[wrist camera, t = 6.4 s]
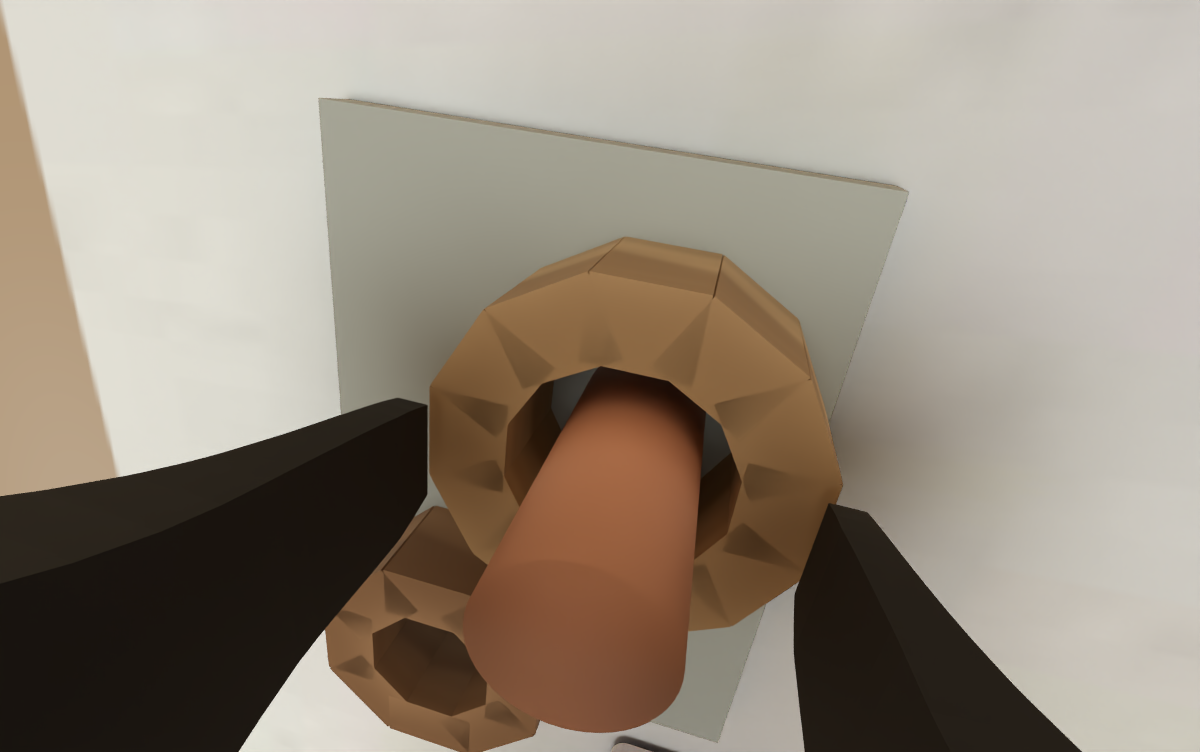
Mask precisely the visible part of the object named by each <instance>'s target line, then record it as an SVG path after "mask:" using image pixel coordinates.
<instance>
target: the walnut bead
mask: <svg viewBox="0 0 1200 752" xmlns="http://www.w3.org/2000/svg"><path fill="white" fill-rule="evenodd" d="M473 553H474V552H472V551H471V549H470V548H469V546H468V544H467V542H466V540H465V539H464V537H463V535H462V533H461V531H460V529H459V528H458V526H457V524H456V522H455V520H454V518H453V517H452V515H451V513H450V511H449V509H447V508H443V507H439V506H435V507H434V506H432V507H431V508H429V509H427V510H425V511H424V512H422V513H420V514H419V515H417V516H415V517H414V518H413V520H412V521H411V523H410V524H409V526H408V527H407V529H406V530H405V532H404V533H403V535H402V537H401V538H400V539H399V541H398V542H397V543H396V544H395V546H394V547H393V548H392V549H391V551H390V552H389V553H388V554H387V556H386V557H385V558H384V559H383V560H382V562H381V563H380V564H379V565H378V566H377V568H376V569H375V570H374V571H373V572H372V574H371V575H370V576H369V577H368V578H367V580H366V581H365V582H364V583H363V584H362V586H361V587H360V588H359V589H358V590H357V592H356V593H355V594H354V595H353V596H352V597H351V599H350V600H349V601H348V602H347V603H346V605H345V606H344V607H343V608H342V609H341V611H340V612H339V613H338V614H337V615H336V616H335V618H334V619H333V620H332V621H331V622H330V624H329V625H328V626H327V627H326V628H325V632H326V642H327V651H328V661H329V667H331V668H330V669H331V670H332V671H333V672H334V673H335V674H336V675H337V676H338V677H339V678H340V679H341V680H342V681H343V682H344V683H345V684H346V685H347V686H348V687H349V688H350V689H351V690H352V691H353V692H354V693H355V694H356V695H357V696H358V697H359V698H360V699H361V700H362V701H363V702H364V703H365V704H366V705H367V706H368V707H369V708H370V709H371V710H372V711H373V712H374V713H375V714H376V715H377V716H378V717H379V718H380V719H381V720H382V721H383V722H384V723H385V724H386V725H387V726H390V728H392V729H394V730H397V731H400V732H403V733H406V734H409V735H412V736H415V737H418V738H421V739H424V740H426V741H429V742H432V743H435V744H438V745H441V746H444V747H447V748H450V749H453V750H456V751H459V752H483V751H486V750H489V749H492V748H496V747H499V746H502V745H506V744H509V743H512V742H515V741H519V740H522V739H525V738H529V737H532V736H534V734H535V733H536V730H537V728H538V725H539V722H540V720H539V719H536V718H534V717H532V716H530V715H528V714H526V713H524V712H522V711H521V710H519V709H518V708H516V707H515V706H513V705H511V704H510V703H509V702H507V701H506V700H505V699H504V698H502V697H501V696H500V695H499V694H498V693H497V692H495V691H494V690H493V689H492V688H491V687H490V686H489V685H488V683H487V682H486V681H485V680H484V679H483V678H482V676H481V675H480V673H479V672H478V670H477V669H476V668H475V666H474V664H473V662H472V660H471V658H470V656H469V654H468V651H467V648H466V646H465V641H464V636H463V616H464V611H465V608H466V605H467V602H468V600H469V598H470V597H471V595H472V593H473V591H474V589H475V587H476V586H477V584H478V582H479V580H480V578H481V576H482V575H483V573H484V571H485V569H486V567H487V566H488V565H487V564H486V563H485V562H483V561H482V560H481V559H479V558H478V557H477V556H476V555H474V554H473Z"/></svg>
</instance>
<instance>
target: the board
mask: <svg viewBox="0 0 1200 752" xmlns="http://www.w3.org/2000/svg"><path fill="white" fill-rule="evenodd" d="M318 99H319V113H320V127H321V141H322V155H323V169H324V182H325V196H326V210H327V224H328V238H329V252H330V265H331V279H332V293H333V307H334V321H335V335H336V348H337V362H338V376H339V390H340V404H341V415H342V414H345V413H348V412H351V411H354V410H357V409H360V408H363V407H366V406H369V405H372V404H375V403H379V402H382V401H386V400H390V399H394V398H402V399H406V400H410V401H414V402H418V403H422V404H426V405H428V495H427V496H426V498H425V500H424V501H423V503H422V505H421V506H420V508H419V510H418V511H417V513H416V515H415V516H417V515H419V514H420V513H422V512H424V511H425V510H427V509H429V508H431V507H432V506H434V507H435V506H439V507H443V508H447V506H446V504H445V502H444V500H443V498H442V497H441V495H440V493H439V491H438V489H437V488H436V486H435V484H434V482H433V480H432V478H431V477H430V474H429V387H430V385H431V383H432V382H433V380H434V379H435V377H436V376H437V375H438V373H439V372H440V370H441V369H442V367H443V366H444V365H445V363H446V362H447V360H448V359H449V357H450V356H451V355H452V353H453V352H454V350H455V349H456V347H457V346H458V345H459V343H460V342H461V340H462V339H463V338H464V336H465V335H466V333H467V332H468V330H469V329H470V328H471V326H472V325H473V323H474V322H475V320H476V319H477V318H478V316H479V315H480V313H481V312H482V310H483V309H485V308H486V307H487V306H489V305H490V304H491V303H493V302H494V301H496V300H497V299H498V298H500V297H501V296H503V295H504V294H505V293H507V292H508V291H510V290H511V289H512V288H514V287H515V286H516V285H518V284H519V283H521V282H522V281H523V280H525V279H526V278H528V277H529V276H530V275H532V274H533V273H534V272H536V271H537V270H539V269H540V268H542V267H545V266H547V265H550V264H553V263H555V262H558V261H561V260H563V259H566V258H569V257H571V256H574V255H577V254H579V253H582V252H585V251H587V250H590V249H593V248H595V247H598V246H601V245H603V244H606V243H609V242H611V241H614V240H617V239H619V238H622V237H632V238H637V239H643V240H648V241H654V242H659V243H664V244H670V245H675V246H681V247H686V248H692V249H697V250H702V251H708V252H713V253H719V254H723V255H722V257H723V256H724V255H725V256H726V257H727V258H728V259H730V260H731V261H732V262H733V263H734V264H735V265H736V266H738V267H739V268H740V269H741V270H742V271H743V272H745V273H746V274H747V275H748V276H749V277H750V278H752V279H753V280H754V281H755V282H756V283H757V284H758V285H760V286H761V287H762V288H763V289H764V290H765V291H767V292H768V293H769V294H770V295H771V296H772V297H774V298H775V299H776V300H777V301H778V302H779V303H780V304H782V305H783V306H784V307H785V308H786V309H787V310H789V311H790V312H791V313H792V314H793V315H794V316H796V317H797V318H798V320H799V321H800V325H801V328H802V332H803V335H804V338H805V342H806V345H807V348H808V352H809V355H810V359H811V362H812V365H813V369H814V372H815V375H816V379H817V382H818V385H819V389H820V392H821V396H822V399H823V402H824V406H825V410H826V414H827V419H828V423H829V421H830V419H831V416H832V413H833V410H834V407H835V404H836V401H837V398H838V396H839V393H840V390H841V387H842V384H843V381H844V378H845V375H846V373H847V370H848V367H849V364H850V361H851V358H852V355H853V352H854V350H855V347H856V344H857V341H858V338H859V335H860V332H861V329H862V327H863V324H864V321H865V318H866V315H867V312H868V309H869V307H870V304H871V301H872V298H873V295H874V292H875V289H876V286H877V284H878V281H879V278H880V275H881V272H882V269H883V266H884V263H885V261H886V258H887V255H888V252H889V249H890V246H891V243H892V240H893V238H894V235H895V232H896V229H897V226H898V223H899V220H900V217H901V215H902V212H903V209H904V206H905V203H906V200H907V197H908V194H909V192H908V191H906V190H904V189H902V188H900V187H898V186H894V185H888V184H881V183H875V182H869V181H862V180H856V179H850V178H843V177H837V176H831V175H824V174H818V173H812V172H805V171H799V170H793V169H786V168H780V167H774V166H768V165H761V164H755V163H749V162H742V161H736V160H730V159H723V158H717V157H711V156H704V155H698V154H692V153H685V152H679V151H673V150H666V149H660V148H654V147H647V146H641V145H635V144H628V143H622V142H616V141H609V140H603V139H597V138H590V137H584V136H578V135H571V134H565V133H559V132H553V131H546V130H540V129H534V128H527V127H521V126H515V125H508V124H502V123H496V122H489V121H483V120H477V119H470V118H464V117H458V116H451V115H445V114H439V113H432V112H426V111H420V110H413V109H407V108H401V107H394V106H388V105H382V104H375V103H369V102H363V101H357V100H350V99H331V98H318ZM597 368H598V367H596V368H593V369H590V370H586V371H583V372H579V373H576V374H573V375H569V376H566V377H562V378H559V379H556V380H554V385H553V395H552V404H551V409H552V411H553V413H554V416H555V418H556V420H557V422H558V424H559V427H560V429H561V431H562V429H563V428H564V426H565V424H566V422H567V420H568V419H569V417H570V415H571V413H572V411H573V410H574V408H575V406H576V404H577V402H578V400H579V399H580V397H581V395H582V393H583V391H584V390H585V388H586V386H587V384H588V382H589V381H590V379H591V377H592V375H593V374H594V372H595V371H596V370H597ZM730 453H731V450H730V447H729V444H728V442H727V439H726V436H725V433H724V431H723V428H722V425H721V424H720V423H719V422H717V421H716V420H715V419H714V418H713V417H711V416H710V415H709V414H708V413H707V412H706V418H705V430H704V443H703V455H702V467H701V478H702V477H704V476H705V475H706V474H707V473H708V472H709V471H710V470H712V469H713V468H714V467H715V466H716V465H717V464H718V463H720V462H721V461H722V460H723V459H724V458H725V457H727V456H728V455H729V454H730ZM447 509H448V508H447ZM415 516H414V517H415ZM765 605H766V604H765ZM765 605H763V606H762V607H760V608H759V609H757V610H756V611H754V612H753V613H752V614H750V615H749V616H747V617H746V618H744V619H743V620H741V621H740V622H738V623H737V624H735V625H734V626H731V627H726V628H717V629H707V630H698V631H689V632H688V640H687V652H686V664H685V674H684V680H683V684H682V686H681V689H680V692H679V694H678V695H677V697H676V699H675V700H674V702H673V703H672V704H671V705H670V706H669V707H668V709H667V710H665V711H664V712H663V713H662V714H661V715H659V716H658V717H656V718H655V719H653V720H651V721H650V722H653V723H656V724H659V725H662V726H666V727H669V728H672V729H675V730H678V731H681V732H685V733H688V734H691V735H694V736H697V737H700V738H704V739H707V740H710V741H713V742H716V743H718V740H719V737H720V735H721V732H722V729H723V726H724V723H725V720H726V717H727V714H728V712H729V709H730V706H731V703H732V700H733V697H734V694H735V691H736V689H737V686H738V683H739V680H740V677H741V674H742V671H743V668H744V666H745V663H746V660H747V657H748V654H749V651H750V648H751V646H752V643H753V640H754V637H755V634H756V631H757V628H758V625H759V623H760V620H761V617H762V614H763V611H764V608H765Z"/></svg>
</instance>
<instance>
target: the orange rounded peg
mask: <svg viewBox="0 0 1200 752" xmlns="http://www.w3.org/2000/svg"><path fill="white" fill-rule="evenodd" d="M705 418H706V412H705V411H704V410H703V409H702V408H701V407H699V406H698V405H697V404H696V403H695V402H693V401H692V400H691V399H690V398H689V397H687V396H686V395H685V394H684V393H683V392H681V391H680V390H679V389H678V388H677V387H675V386H674V385H673V384H672V383H671V382H669V381H667V380H662V379H657V378H653V377H648V376H644V375H639V374H635V373H630V372H626V371H621V370H617V369H612V368H608V367H603V366H600V367H598V368H597V370H596V371H595V372H594V374H593V375H592V377H591V379H590V381H589V382H588V384H587V386H586V388H585V390H584V391H583V393H582V395H581V397H580V399H579V400H578V402H577V404H576V406H575V408H574V410H573V411H572V413H571V415H570V417H569V419H568V420H567V422H566V424H565V426H564V428H563V429H562V431H561V433H560V435H559V437H558V439H557V440H556V442H555V444H554V446H553V448H552V449H551V451H550V453H549V455H548V457H547V459H546V460H545V462H544V464H543V466H542V468H541V469H540V471H539V473H538V475H537V477H536V478H535V480H534V482H533V484H532V486H531V488H530V489H529V491H528V493H527V495H526V497H525V498H524V500H523V502H522V504H521V506H520V508H519V509H518V511H517V513H516V515H515V517H514V518H513V520H512V522H511V524H510V526H509V527H508V529H507V531H506V533H505V535H504V537H503V538H502V540H501V542H500V544H499V546H498V547H497V549H496V551H495V553H494V555H493V556H492V558H491V560H490V562H489V564H488V566H487V567H486V569H485V571H484V573H483V575H482V576H481V578H480V580H479V582H478V584H477V586H476V587H475V589H474V591H473V593H472V595H471V597H470V598H469V600H468V602H467V605H466V608H465V611H464V616H463V636H464V641H465V646H466V648H467V651H468V654H469V656H470V658H471V660H472V662H473V664H474V666H475V668H476V669H477V670H478V672H479V673H480V675H481V676H482V678H483V679H484V680H485V681H486V682H487V683H488V685H489V686H490V687H491V688H492V689H493V690H494V691H495V692H497V693H498V694H499V695H500V696H501V697H502V698H504V699H505V700H506V701H507V702H509V703H510V704H511V705H513V706H515V707H516V708H518V709H519V710H521V711H522V712H524V713H526V714H528V715H530V716H532V717H534V718H536V719H539V720H541V721H543V722H546V723H548V724H552V725H555V726H558V727H561V728H565V729H570V730H575V731H582V732H593V733H606V732H617V731H624V730H628V729H632V728H635V727H638V726H641V725H643V724H646V723H648V722H650V721H651V720H653V719H655V718H656V717H658V716H659V715H661V714H662V713H663V712H664V711H665V710H667V709H668V707H669V706H670V705H671V704H672V703H673V702H674V700H675V699H676V697H677V695H678V694H679V692H680V689H681V686H682V684H683V680H684V674H685V664H686V652H687V640H688V627H689V615H690V603H691V590H692V578H693V566H694V553H695V541H696V529H697V516H698V504H699V492H700V480H701V467H702V455H703V443H704V430H705Z"/></svg>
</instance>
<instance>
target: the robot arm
mask: <svg viewBox="0 0 1200 752" xmlns="http://www.w3.org/2000/svg"><path fill="white" fill-rule="evenodd" d="M427 495H428V405H426V404H422V403H418V402H414V401H410V400H406V399H402V398H394V399H390V400H386V401H382V402H379V403H375V404H372V405H369V406H366V407H363V408H360V409H357V410H354V411H351V412H348V413H345V414H342V415H339V416H336V417H333V418H330V419H327V420H324V421H321V422H318V423H316V424H313V425H310V426H307V427H304V428H301V429H298V430H295V431H292V432H289V433H286V434H283V435H280V436H276V437H273V438H270V439H266V440H263V441H260V442H257V443H253V444H250V445H247V446H243V447H240V448H237V449H234V450H230V451H227V452H224V453H220V454H217V455H213V456H209V457H206V458H202V459H198V460H194V461H190V462H186V463H182V464H178V465H173V466H169V467H164V468H160V469H156V470H151V471H147V472H143V473H138V474H133V475H128V476H123V477H117V478H111V479H106V480H100V481H95V482H89V483H83V484H77V485H72V486H66V487H61V488H55V489H49V490H42V491H36V492H29V493H21V494H14V495H6V496H0V752H239V750H240V749H241V747H242V746H243V744H244V742H245V741H246V739H247V738H248V736H249V735H250V733H251V732H252V730H253V729H254V727H255V726H256V724H257V723H258V721H259V719H260V718H261V716H262V715H263V713H264V712H265V711H266V709H267V708H268V706H269V705H270V703H271V702H272V700H273V699H274V697H275V696H276V695H277V693H278V692H279V690H280V689H281V687H282V686H283V684H284V683H285V681H286V680H287V679H288V677H289V676H290V674H291V673H292V671H293V670H294V668H295V667H296V665H297V664H298V663H299V661H300V660H301V659H302V657H303V656H304V655H305V653H306V652H307V651H308V650H309V648H310V647H311V646H312V644H313V643H314V642H315V641H316V639H317V638H318V637H319V636H320V634H321V633H322V632H323V631H324V630H325V628H326V627H327V626H328V625H329V624H330V622H331V621H332V620H333V619H334V618H335V616H336V615H337V614H338V613H339V612H340V611H341V609H342V608H343V607H344V606H345V605H346V603H347V602H348V601H349V600H350V599H351V597H352V596H353V595H354V594H355V593H356V592H357V590H358V589H359V588H360V587H361V586H362V584H363V583H364V582H365V581H366V580H367V578H368V577H369V576H370V575H371V574H372V572H373V571H374V570H375V569H376V568H377V566H378V565H379V564H380V563H381V562H382V560H383V559H384V558H385V557H386V556H387V554H388V553H389V552H390V551H391V549H392V548H393V547H394V546H395V544H396V543H397V542H398V541H399V539H400V538H401V537H402V535H403V533H404V532H405V530H406V529H407V527H408V526H409V524H410V523H411V521H412V520H413V518H414V516H415V515H416V513H417V511H418V510H419V508H420V506H421V505H422V503H423V501H424V500H425V498H426V496H427ZM794 659H795V669H796V678H797V688H798V697H799V706H800V714H801V723H802V731H803V740H804V749H805V752H1082V751H1081V750H1080V749H1079V748H1077V747H1076V746H1075V745H1074V744H1073V743H1072V742H1071V741H1070V740H1069V739H1068V738H1067V737H1066V736H1065V735H1064V734H1063V733H1062V732H1061V731H1060V730H1059V729H1058V728H1057V727H1056V726H1055V725H1054V724H1053V723H1052V722H1051V721H1050V720H1049V719H1048V718H1047V717H1046V716H1044V715H1043V714H1042V713H1041V712H1040V711H1039V710H1038V709H1037V708H1036V707H1035V706H1034V705H1033V704H1032V703H1031V702H1030V701H1029V700H1028V699H1027V698H1026V697H1025V696H1024V695H1023V694H1022V693H1021V692H1020V691H1019V690H1018V689H1017V688H1016V687H1015V686H1014V685H1013V684H1012V682H1011V681H1010V680H1009V679H1008V678H1007V677H1006V676H1005V675H1004V674H1003V673H1002V672H1001V671H1000V670H999V669H998V667H997V666H996V665H995V664H994V663H993V662H992V661H991V660H990V659H989V658H988V657H987V655H986V654H985V653H984V652H983V651H982V650H981V649H980V648H979V647H978V646H977V645H976V643H975V642H974V641H973V640H972V639H971V638H970V637H969V636H968V635H967V633H966V632H965V631H964V630H963V629H962V628H961V626H960V625H959V624H958V623H957V622H956V621H955V620H954V618H953V617H952V616H951V615H950V614H949V612H948V611H947V610H946V609H945V608H944V607H943V605H942V604H941V603H940V602H939V601H938V599H937V598H936V597H935V596H934V594H933V593H932V592H931V591H930V590H929V588H928V587H927V586H926V585H925V583H924V582H923V581H922V580H921V579H920V577H919V576H918V575H917V574H916V572H915V571H914V570H913V569H912V567H911V566H910V565H909V563H908V562H907V561H906V560H905V558H904V557H903V556H902V555H901V553H900V552H899V551H898V550H897V548H896V547H895V546H894V544H893V543H892V542H891V541H890V539H889V538H888V537H887V536H886V534H885V533H884V532H883V531H882V529H881V528H880V527H879V526H878V524H877V523H876V522H875V521H874V520H873V518H872V517H871V516H870V515H869V514H868V513H867V512H864V511H860V510H856V509H852V508H848V507H844V506H839V505H835V504H831V503H828V506H827V509H826V511H825V514H824V517H823V519H822V522H821V525H820V528H819V530H818V533H817V536H816V538H815V541H814V544H813V546H812V549H811V552H810V554H809V557H808V560H807V562H806V565H805V568H804V570H803V573H802V576H801V578H800V581H799V584H798V586H797V589H796V592H795V598H794ZM611 752H652V751H649V750H646V749H643V748H640V747H637V746H634V745H630V744H627V743H618V744H616V745H614V746H613V748H612V751H611Z"/></svg>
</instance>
